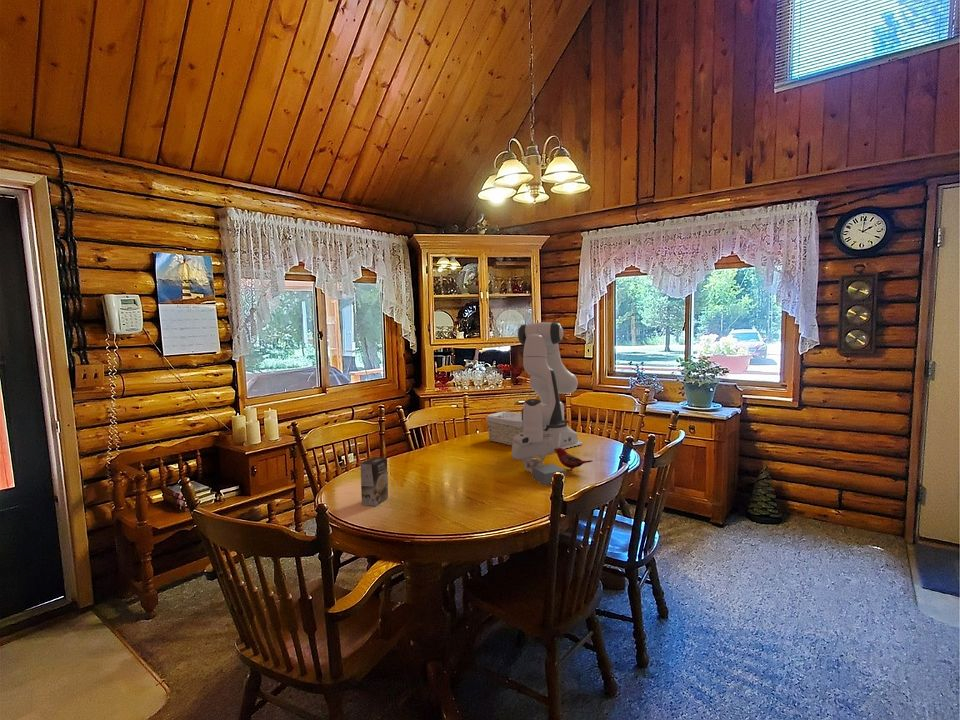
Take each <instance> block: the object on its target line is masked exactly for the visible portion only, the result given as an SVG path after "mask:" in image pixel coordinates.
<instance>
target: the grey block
mask: <svg viewBox="0 0 960 720" xmlns="http://www.w3.org/2000/svg"><path fill="white" fill-rule="evenodd" d="M564 469H565V468H562V467H560V466H557V465H555V464H554V463H550V464H544V465H541V466H536V467H532V473H531V474H532V475H531V476H532V478H533V479H532V480H534V479H535V480H534V481H536V482H537V481H538V483H539V482H540V483H539V484H542V485H543V486H545V485H547V486H550V485H551V482H552V477H553V475H554V473H556V472H560V473H563V474H564V476H565V477H566V470H564Z"/></svg>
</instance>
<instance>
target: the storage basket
mask: <svg viewBox="0 0 960 720" xmlns="http://www.w3.org/2000/svg"><path fill="white" fill-rule="evenodd" d="M486 422H487V428H488V439H489V441H490V442H494V443H495V442H496V443H499V444H503V445H506V444H507V446H512V445H513V443H514V442H515V441H514V440H513V437H514V436H515V435H517V434H519V433H521V432H523V427H524V422H523V421H522V413H518V412H515V411H514V412H513V411H505V410H503V411H498V412H494V413H491V414H488V415H486Z"/></svg>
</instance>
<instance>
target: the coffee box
mask: <svg viewBox="0 0 960 720" xmlns="http://www.w3.org/2000/svg"><path fill="white" fill-rule="evenodd" d="M359 464H360V486H361V487H360V488H361V491H360V492H361V493H360V494H361V495H360V496H361V505H362V504H363V505H364V506H369V505H370V506H371V507H376V506H379V505H380V504H382V503H383V502H385V501H386V500H388V499H389V481H388V480H389V479H388V478H389V477H388V457H377V456H376V457H375V456H373V457H370V458H369V459H366V460H363V461H362V462H360V463H359ZM387 498H388V499H387ZM384 500H385V501H384ZM381 502H382V503H381Z"/></svg>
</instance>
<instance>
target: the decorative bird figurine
mask: <svg viewBox="0 0 960 720" xmlns="http://www.w3.org/2000/svg"><path fill="white" fill-rule="evenodd" d="M554 453H555V454H556V455H557V457H558V460H559V462H560V463H561V464H562V466H564V467H566V468H567V469H565V468H563V469H564V470H565V471H567V470H570V471H569V472H575V468H578V467H579V468H580V467H581V466H582V465H583V464H587V463H591V462H593V460H582V459H581V458H579V457H576V456H575V455H572V454H570V453H568V452H567V451H566V449H562V448H558V449H556V450H554ZM568 468H569V469H568Z"/></svg>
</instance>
